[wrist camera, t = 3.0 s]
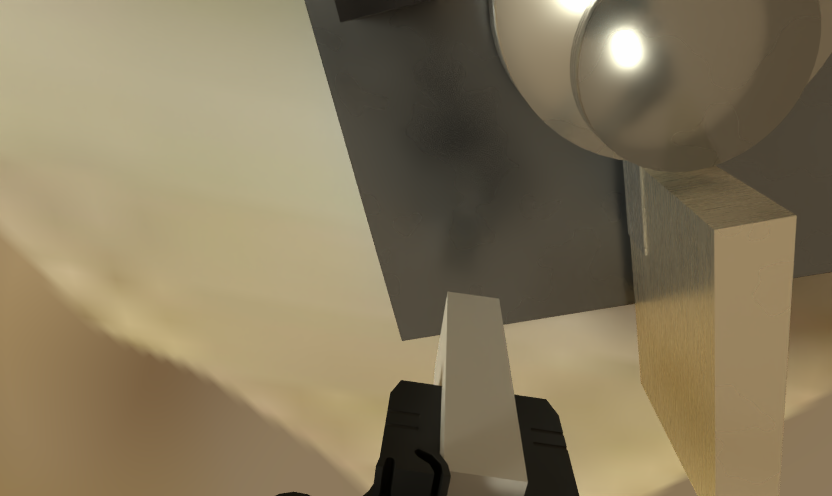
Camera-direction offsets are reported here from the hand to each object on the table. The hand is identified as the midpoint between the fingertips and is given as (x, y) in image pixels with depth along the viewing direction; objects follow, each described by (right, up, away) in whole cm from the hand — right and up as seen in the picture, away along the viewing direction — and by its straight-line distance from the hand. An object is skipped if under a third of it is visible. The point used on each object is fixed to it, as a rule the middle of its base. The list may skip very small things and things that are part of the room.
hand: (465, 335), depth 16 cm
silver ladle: (+6, +5, 0) cm, 8 cm away
